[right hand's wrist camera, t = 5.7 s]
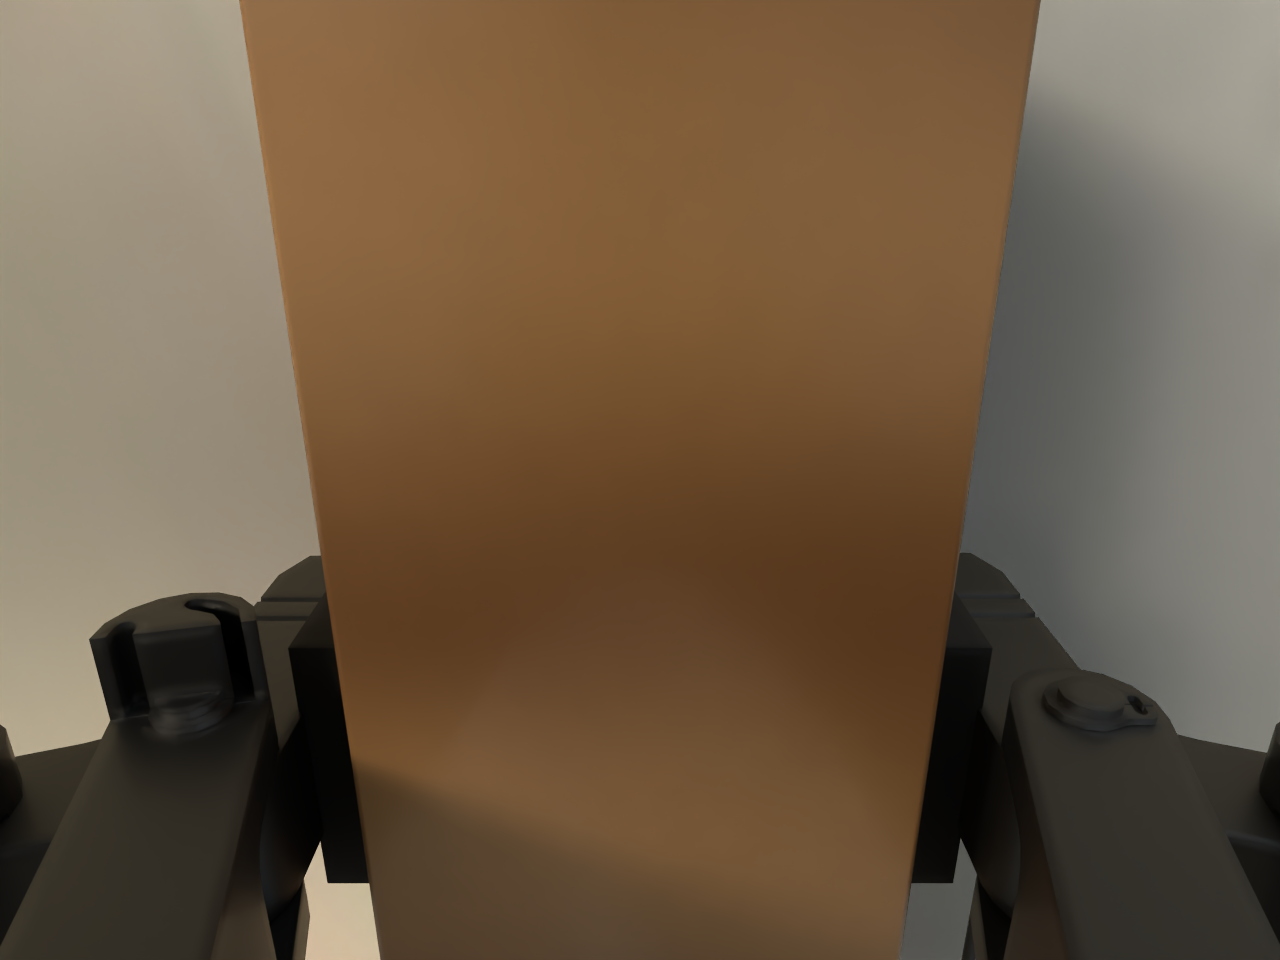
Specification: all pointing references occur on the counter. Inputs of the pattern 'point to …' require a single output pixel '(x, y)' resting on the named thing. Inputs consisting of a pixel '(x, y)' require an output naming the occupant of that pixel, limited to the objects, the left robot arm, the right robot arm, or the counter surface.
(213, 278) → the counter surface
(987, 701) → the right robot arm
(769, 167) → the post
